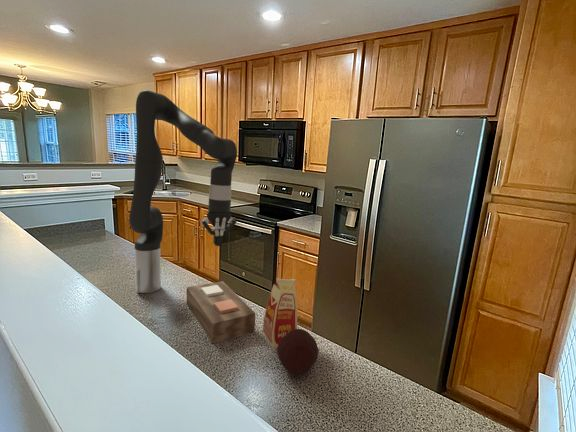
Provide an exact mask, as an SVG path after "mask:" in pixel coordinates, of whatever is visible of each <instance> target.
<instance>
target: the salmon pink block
mask: <svg viewBox="0 0 576 432" xmlns="http://www.w3.org/2000/svg"><path fill="white" fill-rule="evenodd" d="M214 308H215V309H216V310H217V312H218V313H219V314H224V313H228V312H232V311H237V310H238V306H237V305H236V304H235V303H234V302H233V301H232V300H231V299H230V300H225V301H220V302H215V303H214Z"/></svg>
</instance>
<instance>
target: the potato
mask: <svg viewBox="0 0 576 432" xmlns="http://www.w3.org/2000/svg"><path fill="white" fill-rule="evenodd" d="M276 354H277V357H278V360H279V363H280V364H281V365H282V368H283V369H285V371H286V372H287V373H288V375H291V376H293V377H297V378H299V377H302V376H304V375H306V374H308V372H309V371H310V370H312V368H313V367H314V366H315V363H316V362H317V360H318V357H319V347H318V343H317V341H316V339H315V338H314V337H313V336H312V335H311V333H309V332H308V331H307V330H304V329H302V328H297V329H294V330H291V331H290V332H289V333H287V334H286V335H285V336H284V337H283V338H282V340H281V341H280V342H279V344H278V347H276Z"/></svg>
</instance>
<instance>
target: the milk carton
mask: <svg viewBox="0 0 576 432" xmlns="http://www.w3.org/2000/svg"><path fill="white" fill-rule="evenodd" d="M275 279H276V282H274V283H273V285H272V287H271V288H272V289H271V290H270V294H269V297H268V300H267V304H266V309H265V312H264V317H263V323H262V324H263V326H262V333H263V335H264V337H265V339H266V340H267V342H268V343H269V344H270V346H271V347H272V349H274V348H276V349H277V347H278V344H279V342H280V341H281V340H282V338H283V337H284V336H285V335H286V334H287V333H289V332H290V331H291V330H294V329H298V305H297V304H298V303H297V292H296V286H295V282H297V280H296V279H293V278H292V279H284V278H279V277H278V278H275Z"/></svg>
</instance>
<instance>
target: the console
mask: <svg viewBox="0 0 576 432" xmlns="http://www.w3.org/2000/svg"><path fill="white" fill-rule="evenodd" d="M214 285H218V286H219V287H220V288H221V289H222V290H223V294H221V295H216V296H211V297H205V295H204V294H203V293H202V292H201V288H202V287H208V286H214ZM230 299H231V300H232V301H233V302H234V303H235V304H236V305H237V306H238V310H237V311H232V312H228V313H224V314H219V313H218V312H217V310H216V309H215V308H214V303H215V302H220V301H225V300H230ZM186 305H187V307H188V309H189V310H190V311H191V313H192V314H193V316H194V317H195V319H196V320H197V322H198V324H199V325H200V327H201V329H202V330H203V331H204V333H205V334H206V336H207V338H208V339H209V341H210V342H211V344H215V343H219V342H222V341H227V340H230V339H234V338H237V337H241V336H245V335H248V334H252V333H255V331H256V328H255V327H256V315H257V313H256V312H255V311H254V310H253V309H252V308H251V307H250V306H249V305H248V304H247V303H246V302H245V301H244V300H243V299H241V297H240V296H239V295H238V294H237V293H235V291H234V290H233V289H232V288H231V287H230V286H229V285H228V284H227V283H225V282H224V281H223V280H222V281H217V282H216V281H215V282H210V283H205V284H198V285H194V286H193V285H192V286H187V287H186Z"/></svg>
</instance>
